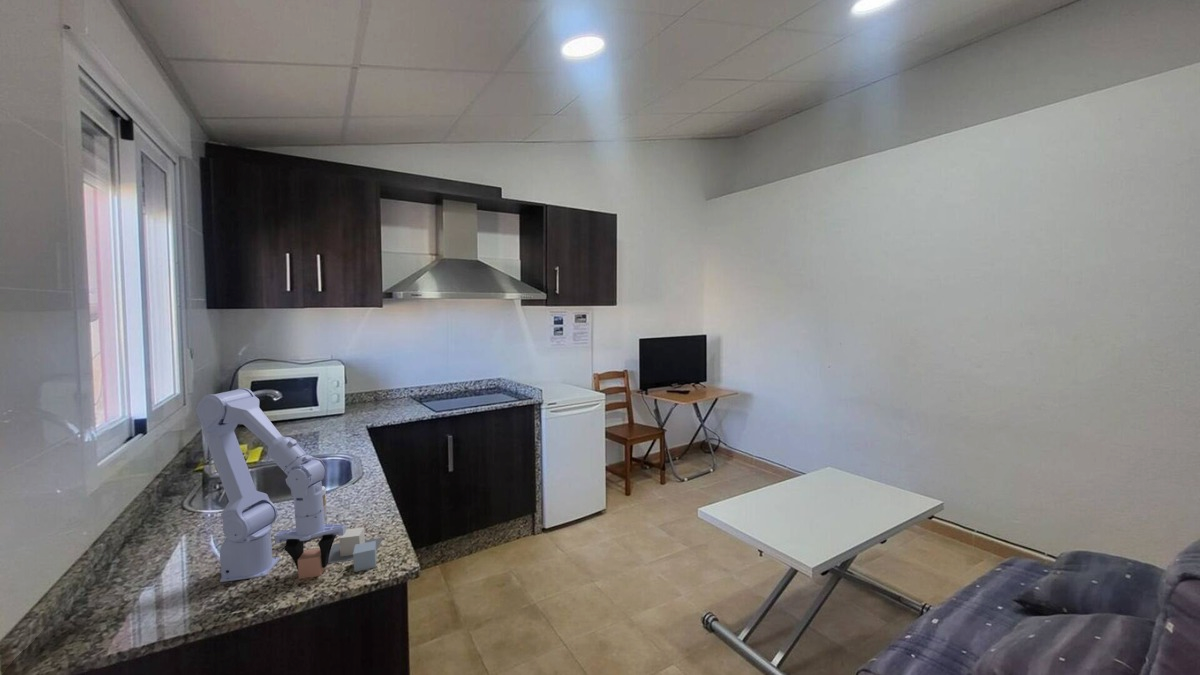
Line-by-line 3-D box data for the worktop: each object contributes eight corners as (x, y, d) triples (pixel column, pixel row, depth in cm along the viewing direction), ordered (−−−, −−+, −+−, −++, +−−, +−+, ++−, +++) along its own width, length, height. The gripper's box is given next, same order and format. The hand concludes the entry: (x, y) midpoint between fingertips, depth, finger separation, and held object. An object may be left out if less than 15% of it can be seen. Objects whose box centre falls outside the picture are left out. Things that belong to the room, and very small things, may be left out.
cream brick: (340, 556, 117) (339, 538, 116) (346, 547, 121) (345, 529, 121) (360, 553, 118) (359, 535, 117) (365, 544, 122) (364, 527, 122)
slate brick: (354, 573, 110) (353, 553, 110) (356, 563, 114) (355, 544, 114) (375, 568, 112) (374, 549, 111) (376, 559, 116) (375, 540, 116)
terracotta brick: (298, 579, 108) (297, 560, 107) (306, 568, 112) (305, 549, 112) (320, 576, 109) (319, 557, 108) (327, 566, 113) (326, 547, 113)
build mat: (320, 565, 113) (320, 564, 113) (334, 545, 123) (334, 544, 123) (373, 558, 116) (373, 557, 116) (382, 539, 126) (382, 537, 126)
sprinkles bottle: (314, 532, 131) (311, 485, 130) (331, 531, 131) (328, 484, 130) (305, 540, 126) (302, 492, 125) (323, 539, 127) (320, 491, 126)
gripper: (266, 523, 104) (270, 581, 105) (337, 515, 107) (341, 571, 108) (280, 510, 111) (284, 564, 112) (346, 502, 114) (350, 555, 115)
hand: (313, 567), depth 110 cm, fingers closed on terracotta brick, 5 cm apart
